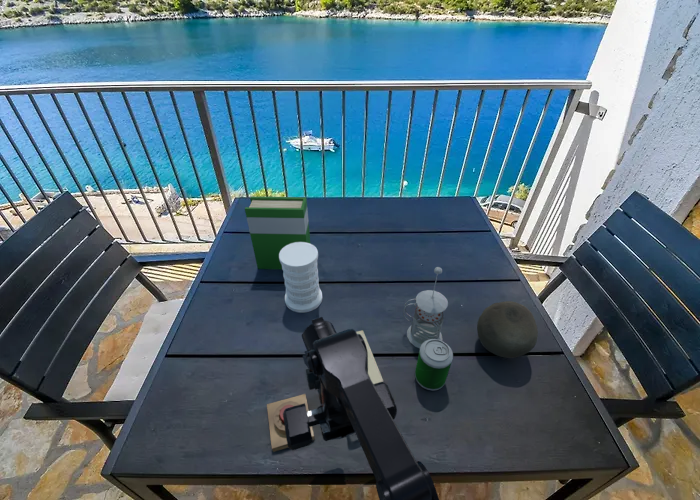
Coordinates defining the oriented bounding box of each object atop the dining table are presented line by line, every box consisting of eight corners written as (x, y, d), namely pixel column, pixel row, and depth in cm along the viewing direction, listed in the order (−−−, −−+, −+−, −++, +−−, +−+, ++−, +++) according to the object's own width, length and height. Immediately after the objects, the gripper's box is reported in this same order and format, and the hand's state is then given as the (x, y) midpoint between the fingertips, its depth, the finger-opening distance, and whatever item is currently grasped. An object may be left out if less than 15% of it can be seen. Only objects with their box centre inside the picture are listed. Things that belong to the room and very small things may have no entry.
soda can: (447, 393, 84) (457, 364, 76) (416, 392, 84) (423, 364, 76) (441, 365, 90) (450, 336, 82) (412, 365, 90) (418, 336, 82)
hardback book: (257, 268, 119) (244, 208, 104) (262, 255, 125) (250, 196, 110) (309, 269, 119) (303, 209, 104) (311, 256, 124) (306, 197, 110)
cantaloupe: (463, 353, 92) (476, 316, 83) (480, 319, 102) (494, 282, 92) (519, 381, 86) (539, 344, 77) (531, 342, 95) (551, 304, 86)
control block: (314, 439, 75) (313, 432, 73) (272, 452, 73) (270, 445, 71) (305, 397, 83) (304, 389, 81) (267, 407, 81) (265, 400, 79)
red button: (298, 422, 75) (297, 418, 74) (281, 426, 74) (280, 423, 73) (295, 406, 78) (294, 402, 77) (279, 411, 77) (278, 407, 76)
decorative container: (316, 315, 103) (312, 270, 92) (279, 309, 105) (270, 263, 94) (326, 288, 112) (324, 244, 100) (292, 283, 114) (286, 238, 102)
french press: (440, 354, 92) (458, 286, 77) (397, 342, 95) (406, 275, 80) (444, 326, 100) (461, 259, 84) (404, 316, 102) (414, 250, 87)
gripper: (377, 337, 63) (373, 384, 73) (273, 362, 59) (284, 409, 68) (402, 392, 55) (394, 437, 64) (282, 427, 50) (293, 469, 60)
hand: (341, 435), depth 64 cm, fingers closed
